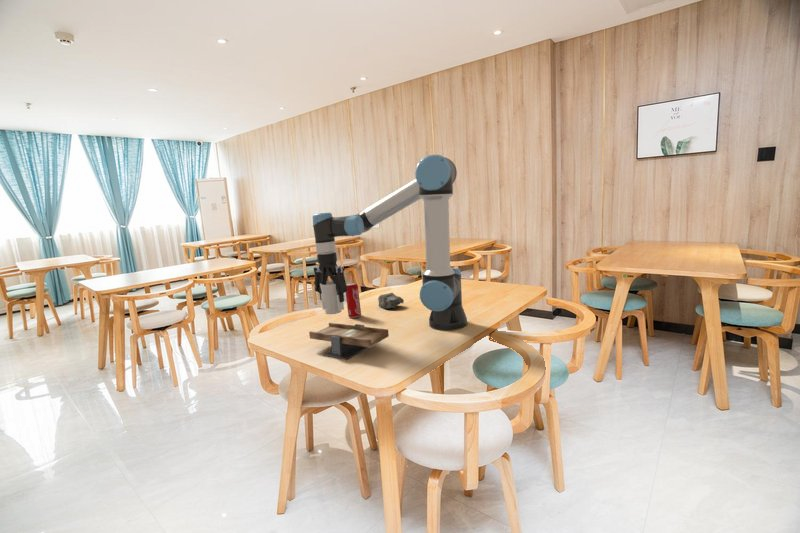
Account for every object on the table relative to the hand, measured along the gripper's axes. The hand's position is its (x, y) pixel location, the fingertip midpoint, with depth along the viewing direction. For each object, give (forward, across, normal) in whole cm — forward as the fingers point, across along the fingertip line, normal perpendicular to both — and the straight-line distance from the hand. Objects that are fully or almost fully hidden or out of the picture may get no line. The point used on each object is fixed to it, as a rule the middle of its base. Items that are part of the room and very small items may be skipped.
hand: (333, 309), depth 161 cm
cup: (+1, 0, 0) cm, 1 cm away
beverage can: (+9, +5, -19) cm, 22 cm away
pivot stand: (+9, -18, +14) cm, 25 cm away
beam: (+4, -18, +14) cm, 24 cm away
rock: (+10, -3, -37) cm, 38 cm away
